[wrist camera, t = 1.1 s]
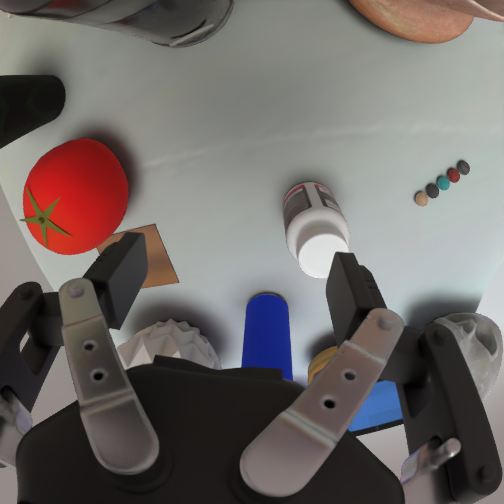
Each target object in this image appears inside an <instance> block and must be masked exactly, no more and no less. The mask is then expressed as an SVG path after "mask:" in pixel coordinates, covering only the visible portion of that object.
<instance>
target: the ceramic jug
mask: <svg viewBox="0 0 504 504" xmlns="http://www.w3.org/2000/svg"><path fill="white" fill-rule="evenodd" d="M349 2H350V3H351V4H352V5H353V6H354V7H355V8H356V9H357V10H358V11H359V12H360V13H361V14H362V15H363V16H365V17H366V18H367V19H368V20H370V21H371V22H372V23H374V24H375V25H377V26H379V27H380V28H382V29H384V30H386V31H388V32H390V33H392V34H394V35H396V36H399V37H402V38H405V39H408V40H412V41H416V42H421V43H442V42H447V41H450V40H452V39H454V38H456V37H458V36H460V35H461V34H462V33H463V32H465V30H466V29H467V28H468V27H469V26H470V24H471V23H472V21H473V18H474V16H475V17H479V18H484V19H488V20H493V21H500V22H504V0H349Z"/></svg>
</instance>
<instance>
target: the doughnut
mask: <svg viewBox="0 0 504 504" xmlns="http://www.w3.org/2000/svg"><path fill="white" fill-rule="evenodd" d="M337 350H338V348H337V346H334V347H331V348H328V349H326V350H324V351H322V352H321V353H319V354H318V355H317V356H316V357H315V358H314V359H313V360H312V362H311V363H310V365H309V368H308V385H309V384H310V383H311V382H312V381H313V380H314V378H315V377H316V376H317V375H318V374H319V372H320V371H321V370H322V369H323V368H324V366H325V365H326V364H327V363H328V361H329V360H330V359H331V358H332V356H333V355H334V354H335V353H336V351H337Z"/></svg>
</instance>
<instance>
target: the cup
mask: <svg viewBox="0 0 504 504" xmlns="http://www.w3.org/2000/svg"><path fill="white" fill-rule="evenodd" d="M64 103H65V88H64V86H63V83H62V82H61V80H60V79H58V78H57V77H55V76H50V75H4V76H0V149H1V148H3V147H4V146H6V145H8V144H9V143H11V142H13V141H15V140H16V139H18V138H20V137H22V136H23V135H25V134H27V133H29V132H31V131H33V130H35V129H37V128H39V127H41V126H43V125H45V124H47V123H49V122H51V121H53V120H54V119H56V118H57V117H58V116H59V114H60V113H61V111H62V109H63V107H64Z"/></svg>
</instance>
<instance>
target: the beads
mask: <svg viewBox="0 0 504 504" xmlns="http://www.w3.org/2000/svg"><path fill="white" fill-rule="evenodd" d="M458 169H459V172H460V173H461V174H462V175H467V174H468V173H469V171H470V167H469V164H468V163H467V162H461V163H460V164H459V166H458ZM459 172H458V171H457V170H456V169H452V170H450V171H449V173H448V178H449V180H450V181H451V182H453V183H456V182H458V181H459V179H460V174H459ZM448 178H446V177H441V178H439V180H438V187H439V188H440V189H441V190H447V189H448V188H449V185H450V182H449V180H448ZM438 187H437V186H436V185H430V186H428V188H427V195H428V196H429V197H430V198H436V197H437V196H438V194H439V189H438ZM427 195H426V194H425V193H418V194H417V195H416V198H415V201H416V203H417V204H418V205H419V206H425V205H426V204H427V202H428V197H427Z"/></svg>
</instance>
